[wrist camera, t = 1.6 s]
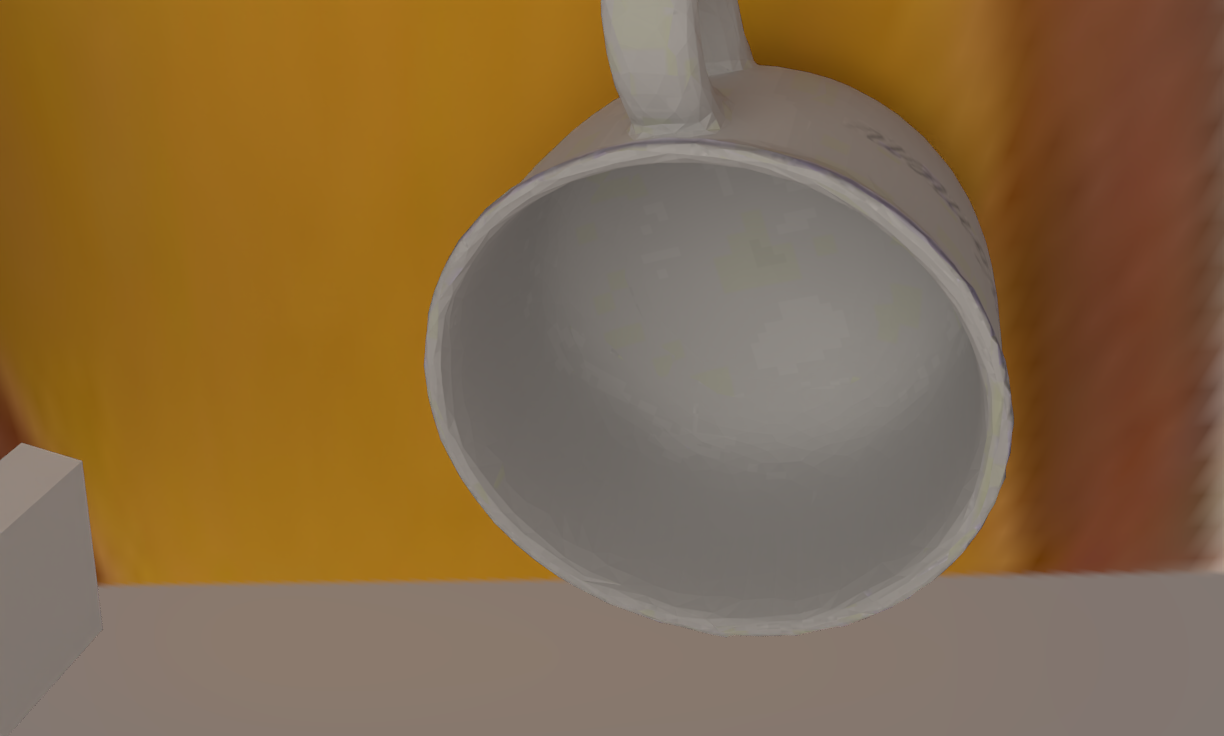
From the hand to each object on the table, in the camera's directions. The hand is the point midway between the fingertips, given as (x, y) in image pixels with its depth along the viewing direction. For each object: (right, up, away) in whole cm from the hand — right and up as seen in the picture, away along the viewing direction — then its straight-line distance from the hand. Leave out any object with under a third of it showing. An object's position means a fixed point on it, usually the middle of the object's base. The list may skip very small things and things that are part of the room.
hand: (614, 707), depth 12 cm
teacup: (+3, +8, +13) cm, 16 cm away
